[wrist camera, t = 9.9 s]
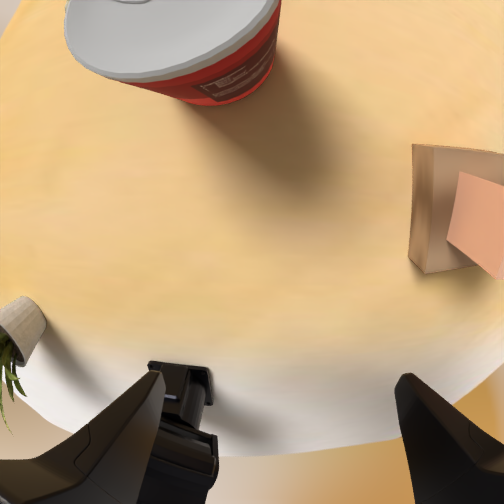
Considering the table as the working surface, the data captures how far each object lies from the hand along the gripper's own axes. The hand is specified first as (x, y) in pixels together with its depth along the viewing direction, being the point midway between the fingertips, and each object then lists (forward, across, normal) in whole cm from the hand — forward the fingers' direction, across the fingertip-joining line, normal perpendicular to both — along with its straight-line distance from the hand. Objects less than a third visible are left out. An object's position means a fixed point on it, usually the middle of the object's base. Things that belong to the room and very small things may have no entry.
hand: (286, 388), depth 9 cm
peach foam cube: (+10, -15, -5) cm, 18 cm away
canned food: (+13, +5, -14) cm, 19 cm away
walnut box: (+13, -15, -5) cm, 20 cm away
